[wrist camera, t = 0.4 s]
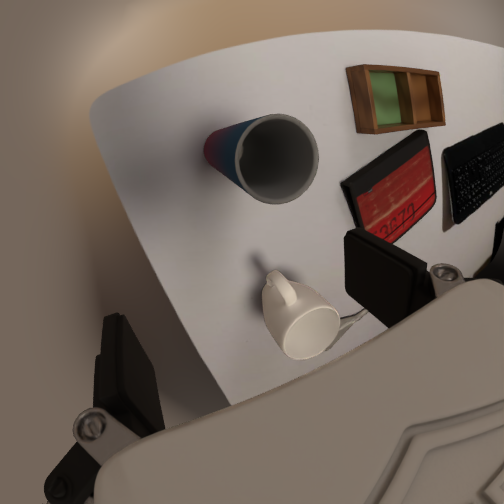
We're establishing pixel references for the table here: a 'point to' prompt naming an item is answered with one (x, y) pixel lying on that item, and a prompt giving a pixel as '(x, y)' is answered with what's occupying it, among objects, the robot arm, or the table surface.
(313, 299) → the mug
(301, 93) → the table surface
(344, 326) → the toy airplane
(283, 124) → the cup
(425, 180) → the binder
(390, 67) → the wooden compartment tray
